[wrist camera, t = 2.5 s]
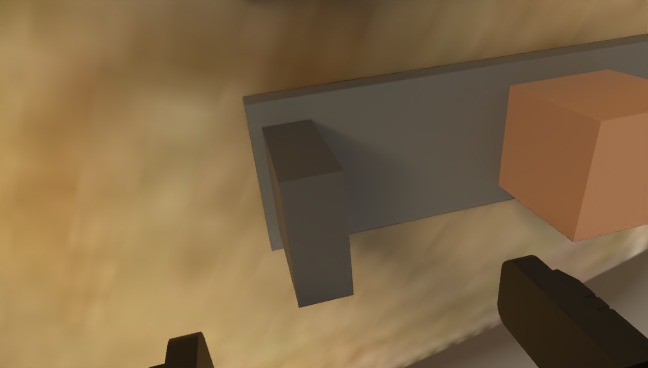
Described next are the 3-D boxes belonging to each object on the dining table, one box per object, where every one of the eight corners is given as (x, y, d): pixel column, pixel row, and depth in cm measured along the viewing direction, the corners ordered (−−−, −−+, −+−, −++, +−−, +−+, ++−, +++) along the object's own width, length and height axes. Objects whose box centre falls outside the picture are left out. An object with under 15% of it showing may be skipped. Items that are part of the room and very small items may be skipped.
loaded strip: (269, 236, 20) (289, 331, 15) (242, 96, 17) (255, 154, 12) (620, 162, 24) (739, 219, 18) (654, 32, 20) (812, 55, 15)
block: (498, 185, 21) (573, 242, 16) (510, 85, 18) (601, 121, 14) (586, 166, 22) (679, 216, 17) (608, 69, 19) (722, 98, 15)
